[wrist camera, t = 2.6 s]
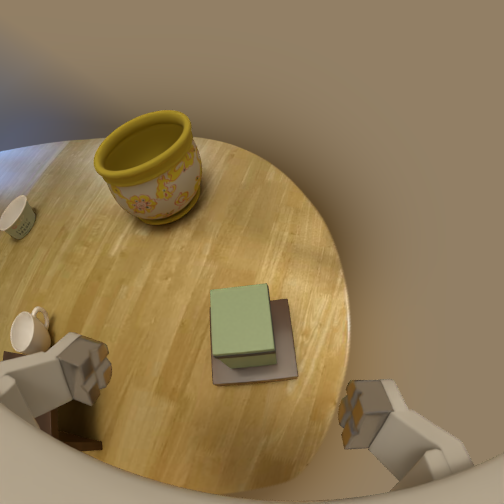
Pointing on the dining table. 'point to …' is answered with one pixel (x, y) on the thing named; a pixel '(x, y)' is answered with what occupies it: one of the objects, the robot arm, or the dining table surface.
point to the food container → (17, 218)
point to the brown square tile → (267, 373)
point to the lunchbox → (242, 326)
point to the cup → (30, 333)
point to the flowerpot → (152, 166)
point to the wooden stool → (50, 424)
